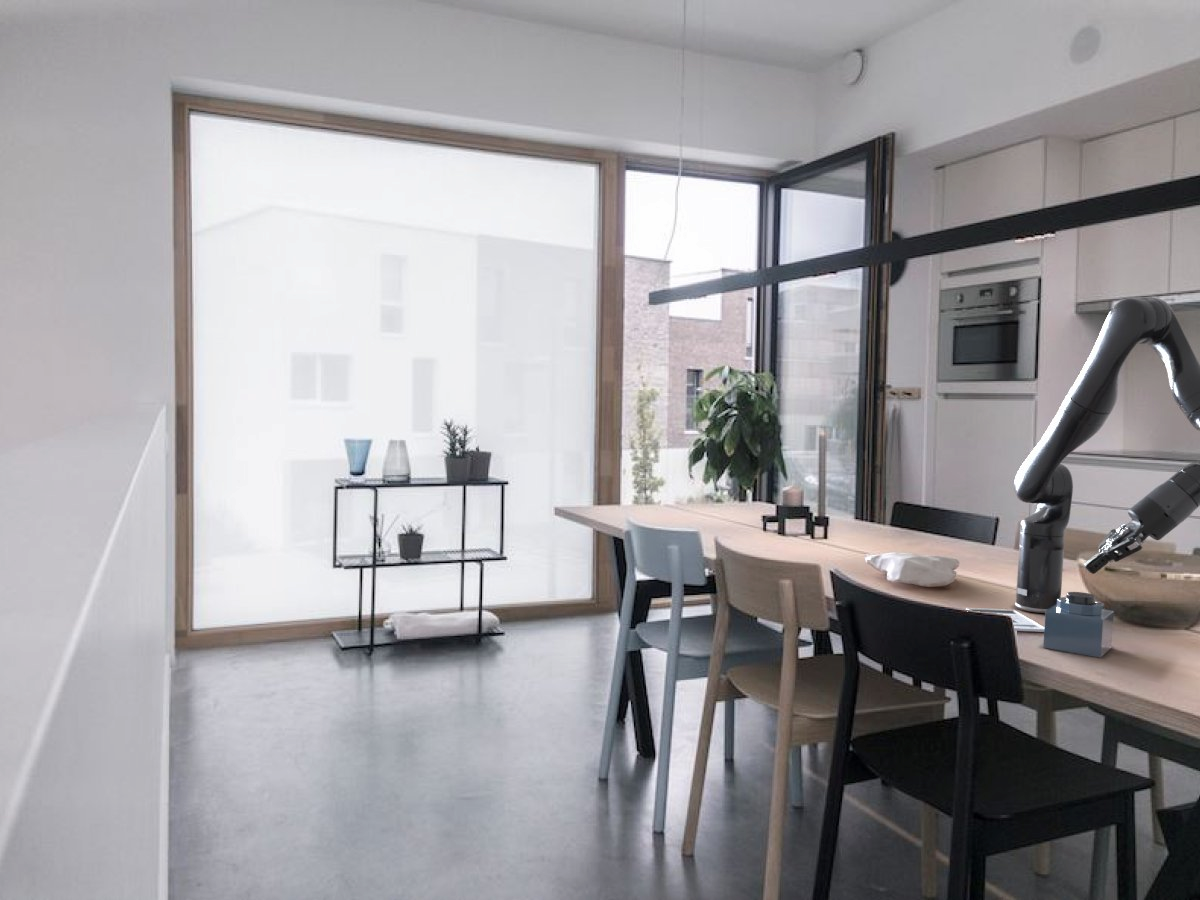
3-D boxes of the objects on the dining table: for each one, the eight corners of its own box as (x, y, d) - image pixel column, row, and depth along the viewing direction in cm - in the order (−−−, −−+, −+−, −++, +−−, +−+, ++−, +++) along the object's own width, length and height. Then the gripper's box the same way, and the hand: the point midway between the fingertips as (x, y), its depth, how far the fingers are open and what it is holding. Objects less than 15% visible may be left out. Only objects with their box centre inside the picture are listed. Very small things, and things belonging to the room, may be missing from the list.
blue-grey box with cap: (1056, 638, 198) (1059, 593, 197) (1111, 647, 192) (1114, 601, 191) (1043, 647, 190) (1046, 601, 189) (1100, 657, 184) (1103, 609, 183)
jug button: (1069, 599, 194) (1070, 590, 194) (1097, 603, 191) (1098, 594, 191) (1063, 603, 190) (1063, 594, 190) (1091, 607, 187) (1092, 598, 187)
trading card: (1048, 632, 202) (1014, 612, 220) (1048, 629, 202) (1014, 609, 220) (995, 630, 203) (965, 610, 221) (995, 627, 203) (965, 607, 221)
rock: (877, 586, 243) (859, 573, 273) (975, 592, 241) (946, 578, 270) (878, 554, 243) (860, 545, 273) (976, 559, 241) (947, 550, 271)
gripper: (1136, 491, 193) (1065, 549, 196) (1160, 498, 180) (1083, 561, 184) (1164, 520, 192) (1092, 578, 196) (1190, 529, 180) (1112, 591, 183)
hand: (1088, 569), depth 190 cm, fingers closed
